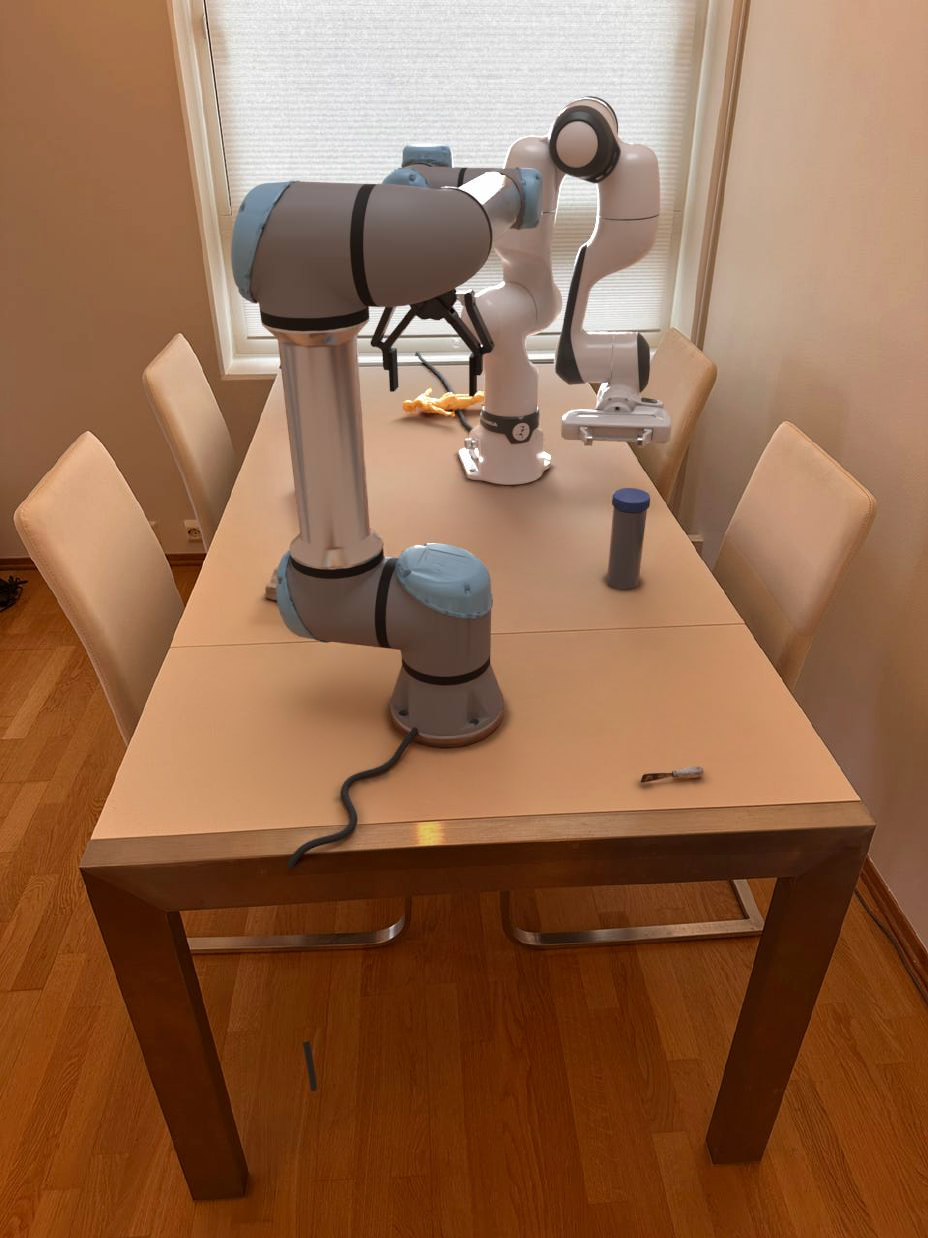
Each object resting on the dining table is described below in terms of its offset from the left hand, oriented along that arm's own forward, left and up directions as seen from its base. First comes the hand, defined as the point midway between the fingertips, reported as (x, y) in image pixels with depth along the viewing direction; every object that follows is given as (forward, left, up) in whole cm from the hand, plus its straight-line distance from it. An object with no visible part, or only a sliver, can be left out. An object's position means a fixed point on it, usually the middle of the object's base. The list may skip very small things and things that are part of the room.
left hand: (433, 391), depth 149 cm
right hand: (+13, -30, -12) cm, 35 cm away
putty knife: (-57, -43, -28) cm, 77 cm away
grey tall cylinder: (-8, -34, -28) cm, 45 cm away
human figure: (+71, +14, -28) cm, 78 cm away
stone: (-24, +17, -28) cm, 41 cm away
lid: (-8, -34, -12) cm, 38 cm away
